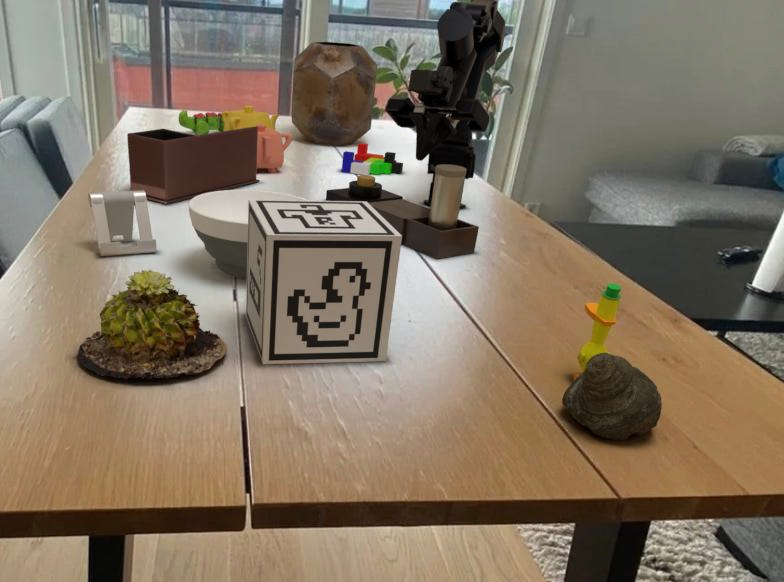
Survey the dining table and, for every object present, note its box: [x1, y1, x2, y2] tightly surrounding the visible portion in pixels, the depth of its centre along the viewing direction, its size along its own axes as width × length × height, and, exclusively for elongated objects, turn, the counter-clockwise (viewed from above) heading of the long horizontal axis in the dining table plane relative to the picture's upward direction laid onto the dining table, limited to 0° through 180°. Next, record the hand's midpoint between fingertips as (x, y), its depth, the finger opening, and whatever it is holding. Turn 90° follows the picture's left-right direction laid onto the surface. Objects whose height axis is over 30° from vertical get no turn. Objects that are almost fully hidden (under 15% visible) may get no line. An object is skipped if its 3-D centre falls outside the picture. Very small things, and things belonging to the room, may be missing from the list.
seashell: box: [561, 353, 663, 441], centre depth 80 cm, size 11×12×10 cm
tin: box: [428, 164, 466, 231], centre depth 130 cm, size 5×5×13 cm
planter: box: [290, 41, 378, 147], centre depth 208 cm, size 22×24×24 cm
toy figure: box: [573, 282, 622, 381], centre depth 88 cm, size 7×4×12 cm, turn 8°
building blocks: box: [341, 142, 404, 176], centre depth 185 cm, size 15×13×4 cm
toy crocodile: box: [178, 109, 225, 135], centre depth 211 cm, size 20×7×6 cm, turn 114°
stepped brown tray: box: [369, 198, 480, 260], centre depth 136 cm, size 9×20×4 cm, turn 34°
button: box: [356, 174, 376, 187], centre depth 154 cm, size 4×4×2 cm
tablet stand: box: [87, 190, 157, 257], centre depth 120 cm, size 9×8×8 cm
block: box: [245, 200, 402, 365], centre depth 93 cm, size 15×15×15 cm
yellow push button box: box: [325, 180, 404, 203], centre depth 155 cm, size 12×10×4 cm
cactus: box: [76, 268, 227, 380], centre depth 87 cm, size 17×16×10 cm
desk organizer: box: [126, 126, 260, 205], centre depth 156 cm, size 10×29×11 cm, turn 145°
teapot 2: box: [256, 124, 293, 174], centre depth 175 cm, size 12×12×10 cm
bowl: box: [187, 189, 311, 280], centre depth 115 cm, size 20×20×10 cm
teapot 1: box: [221, 105, 282, 131], centre depth 194 cm, size 14×13×10 cm
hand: (418, 159), depth 136 cm, fingers closed
